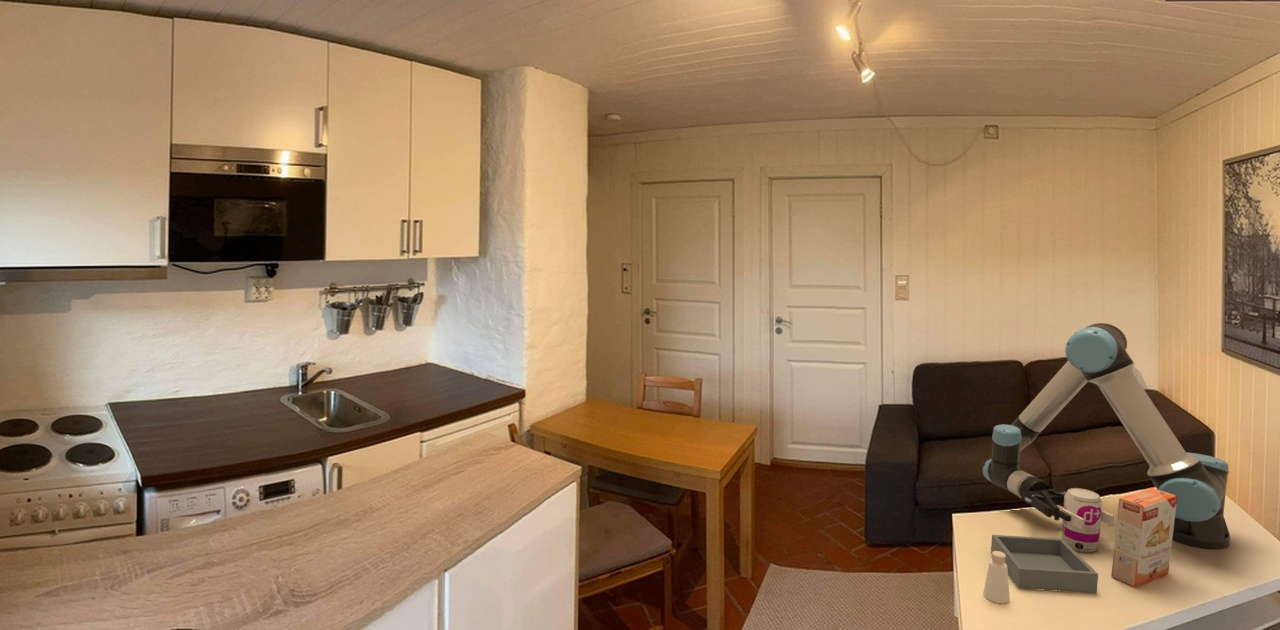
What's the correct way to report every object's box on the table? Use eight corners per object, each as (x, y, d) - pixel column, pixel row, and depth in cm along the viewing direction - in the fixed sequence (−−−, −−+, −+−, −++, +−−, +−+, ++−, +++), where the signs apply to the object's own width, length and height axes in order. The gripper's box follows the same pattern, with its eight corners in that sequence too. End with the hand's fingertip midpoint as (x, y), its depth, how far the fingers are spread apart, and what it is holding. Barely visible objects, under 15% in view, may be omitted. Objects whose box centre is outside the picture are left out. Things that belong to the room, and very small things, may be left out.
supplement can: (1104, 554, 162) (1109, 500, 161) (1069, 552, 164) (1073, 498, 162) (1089, 539, 170) (1093, 488, 168) (1055, 537, 172) (1059, 486, 170)
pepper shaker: (985, 588, 149) (988, 545, 148) (1011, 595, 146) (1014, 552, 144) (981, 598, 145) (983, 554, 143) (1007, 606, 141) (1010, 561, 140)
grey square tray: (1060, 556, 162) (1062, 538, 162) (1096, 593, 146) (1098, 574, 145) (990, 552, 165) (991, 534, 164) (1018, 588, 149) (1019, 568, 148)
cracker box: (1137, 589, 147) (1145, 506, 144) (1109, 577, 152) (1116, 496, 150) (1171, 575, 152) (1179, 494, 150) (1143, 563, 158) (1150, 485, 155)
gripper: (1058, 496, 186) (1130, 531, 164) (997, 503, 182) (1062, 540, 160) (1060, 472, 185) (1132, 504, 163) (998, 479, 181) (1064, 513, 159)
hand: (1097, 522), depth 161 cm, fingers closed on supplement can, 8 cm apart
